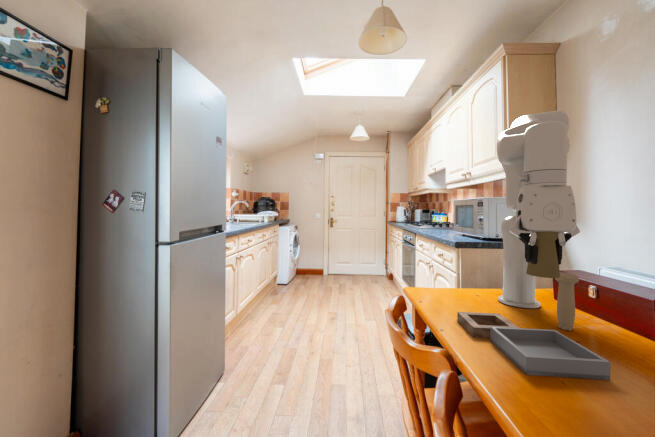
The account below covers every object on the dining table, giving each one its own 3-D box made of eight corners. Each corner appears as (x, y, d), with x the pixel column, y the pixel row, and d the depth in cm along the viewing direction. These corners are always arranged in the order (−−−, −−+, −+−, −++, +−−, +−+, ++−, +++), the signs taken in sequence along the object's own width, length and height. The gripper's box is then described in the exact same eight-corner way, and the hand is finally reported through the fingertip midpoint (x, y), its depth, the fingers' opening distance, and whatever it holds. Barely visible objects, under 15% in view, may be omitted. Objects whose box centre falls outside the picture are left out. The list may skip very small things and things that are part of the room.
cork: (567, 278, 58) (568, 226, 58) (534, 277, 59) (535, 225, 59) (550, 272, 64) (550, 225, 64) (520, 271, 65) (521, 224, 65)
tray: (490, 340, 70) (490, 326, 70) (555, 344, 68) (555, 329, 68) (525, 374, 55) (526, 356, 55) (610, 380, 53) (610, 362, 53)
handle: (558, 331, 76) (559, 276, 75) (551, 323, 81) (552, 272, 81) (581, 335, 73) (582, 278, 73) (572, 326, 79) (573, 274, 79)
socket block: (457, 320, 83) (457, 311, 83) (499, 322, 82) (499, 313, 82) (473, 337, 72) (473, 327, 72) (522, 339, 70) (522, 329, 70)
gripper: (513, 178, 58) (511, 265, 59) (600, 177, 56) (599, 267, 57) (495, 182, 66) (494, 259, 66) (572, 182, 64) (571, 261, 64)
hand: (542, 262), depth 61 cm, fingers closed on cork, 4 cm apart
